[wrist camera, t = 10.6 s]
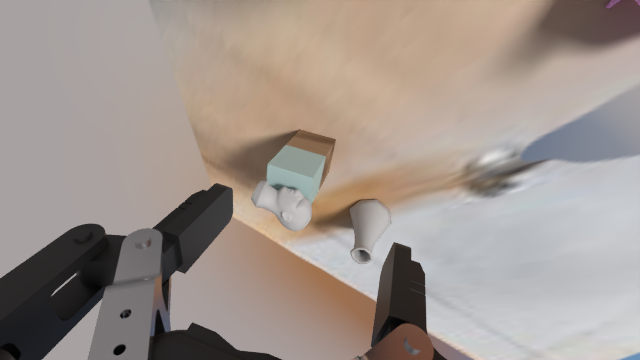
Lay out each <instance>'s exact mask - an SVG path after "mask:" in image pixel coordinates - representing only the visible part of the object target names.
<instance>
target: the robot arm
mask: <svg viewBox="0 0 640 360" xmlns="http://www.w3.org/2000/svg"><path fill="white" fill-rule="evenodd" d="M232 214H233V190H232V188H230V187H227V186H224V185H221V184H218V183H216V184H214V185H213V186H212V187H211V188H210V189H209V190H207V191H205V190H202V191H199V192H197V193H195V194H193V195H191V196H190V197H189V198H188V199H187V200H185V202H183V203H182V204H181V205H180V206H179V207H178V208H176V209H175V210H174V211H172V212H171V213H170V214H169V215H168V216H167V217H165V218H164V219H163V220H162V221H161V222H160V223H158V224H157V225H156V226H155V227H153V228H152V229H149V228H147V229H141V230H137V231H135V232H133V233H131V234H129V235H128V236H120V235H106V233H105V230H104V228H103V227H102V226H100V225H97V224H84V225H80V226H77V227H74V228H72V229H70V230H69V231H67V232H66V233H64V234H63V235H61V236H60V237H59V238H57V239H56V240H54V241H53V242H52V243H50V244H49V245H47V246H46V247H45V248H43V249H42V250H41V251H39V252H38V253H36V254H35V255H34V256H32V257H30V258H29V259H27V260H26V261H25V262H23V263H22V264H20V265H19V266H17V267H16V268H15V269H13V270H12V271H10V272H9V273H7V274H6V275H5V276H3V277H2V278H0V360H42V359H43V358H44V357H45V356H46V355H47V354H48V353H49V352H50V351H51V350H52V348H54V347H55V346H56V344H58V342H60V341H61V340H62V339H63V338H64V337H65V336H66V335H67V333H68V332H69V331H70V330H71V329H72V328H73V327H74V326H75V325H76V324H77V323H78V322H79V321H80V320H81V319H82V318H83V317H84V316H85V315H86V314H87V313H88V312H89V311H90V310H91V309H92V308H93V307H94V306H95V305H96V304H97V303H98V302H99V301H100V300H101V299H102V298H103V299H102V303H101V307H100V311H99V315H98V319H97V324H96V327H95V331H94V336H93V340H92V344H91V348H90V352H89V356H88V360H281V359H279V358H277V357H274V356H272V355H270V354H265V353H257V352H247V351H239V350H237V349H235V348H234V347H233V346H232V345H230V344H229V343H228V342H227V341H226V340H224V339H223V338H222V337H221V336H220V335H219V334H217V333H216V332H214V331H212V330H209V329H207V328H204V327H202V326H200V325H197V324H195V323H192V324H191V325H190V326H189V328H188V329H187V330H175V331H171V328H170V297H171V275H172V274H173V273H174V272H175V271H176V270H177V271H179V272H182V273H186V272H187V271H188V270H189V268H190V267H191V266H192V265H193V264H194V263H195V261H196V260H197V259H198V258H199V257H200V256H201V254H202V253H203V252H204V251H205V250H206V249H207V248H208V246H209V245H210V244H211V243H212V242H213V240H214V239H215V238H216V237H217V236H218V235H219V234H220V232H221V231H222V230H223V229H224V227H226V225H227V224H228V223H229V222H230V220H231V217H232ZM75 273H76V274H77V275H76V276H75V277H74V278H72V279H71V280H70V281H69V282H68V283H67V284H65V285H64V286H63V287H62V288H61V289H60V290H58V291H57V292H56V293H55V294H54V295H53V296H51V295H52V294H53V292H54V291H55V290H56V289H57V288H59V287H60V286H61V285H62V284H63V283H64V282H65V281H66V280H68V279H69V278H70V277H71V276H73V275H74V274H75ZM371 347H372V348H371V349H370V350H369V351H368V352H366V353H365V354H364V355H363V356H361V357H359V356H357V357H355V358H353V359H352V360H447V359H445V358H444V357H443V356H441V355H440V354H439V353H438V352H437V351H436V349H435V348H434V347H433V344H432V342H431V340H430V338H429V337H428V335H427V329H426V296H425V273H424V271H423V269H422V267H421V265H420V263H418V262H415V261H412V260H411V248H410V247H407V246H404V245H401V244H398V243H395V242H394V243H393V245H392V247H391V249H390V251H389V254H388V256H387V258H386V260H385V262H384V265H383V268H382V271H381V275H380V282H379V290H378V297H377V304H376V313H375V319H374V327H373V335H372V342H371Z"/></svg>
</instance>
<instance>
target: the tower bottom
mask: <svg viewBox="0 0 640 360" xmlns="http://www.w3.org/2000/svg"><path fill="white" fill-rule="evenodd" d="M335 141H336V139H332V138H328V137H325V136H321V135H318V134H314V133H311V132H307V131H303V130H299V131H298V132H297V133H296V134H295V135H294V136H293V137H292V138H291V140H290V141H289V142H288V143H287V144H286V145H289V146H292V147H295V148H299V149H302V150H306V151H309V152H312V153H316V154H319V155H322V156H326V158H325V163H324V168H323V172H322V177H321V182H320V187H321V186H322V184H323V182H324V180H325V178H326V176H327V174H328V172H329V169H330V164H331V159H332V155H333V150H334V145H335ZM320 187H319V189H320Z"/></svg>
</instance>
